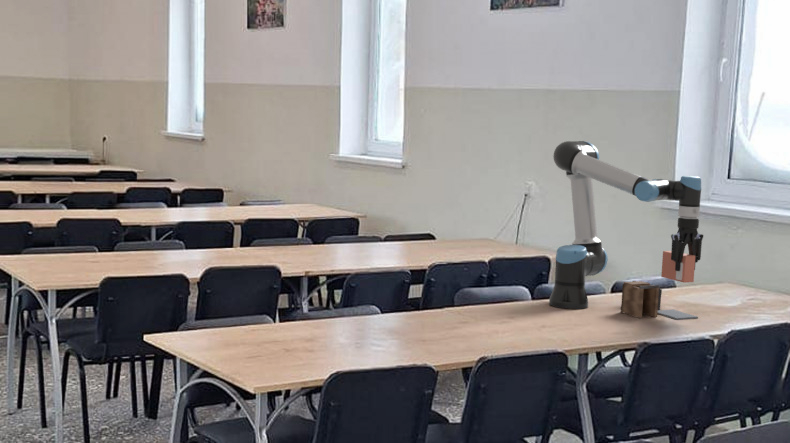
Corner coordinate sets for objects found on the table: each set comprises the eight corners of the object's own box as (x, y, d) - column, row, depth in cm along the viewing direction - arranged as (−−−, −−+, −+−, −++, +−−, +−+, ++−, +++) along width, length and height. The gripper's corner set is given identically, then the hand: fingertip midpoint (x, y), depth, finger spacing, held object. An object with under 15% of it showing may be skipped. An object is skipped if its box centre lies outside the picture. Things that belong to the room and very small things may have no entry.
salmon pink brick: (661, 276, 377) (663, 251, 376) (670, 276, 379) (672, 250, 378) (683, 282, 365) (685, 256, 364) (693, 282, 367) (695, 255, 366)
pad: (652, 312, 378) (652, 310, 378) (673, 311, 382) (673, 309, 382) (676, 319, 366) (676, 318, 366) (697, 318, 370) (697, 316, 370)
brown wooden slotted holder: (620, 312, 376) (622, 281, 375) (638, 311, 380) (640, 280, 379) (639, 317, 367) (641, 286, 365) (657, 316, 370) (659, 285, 369)
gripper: (676, 219, 359) (672, 281, 362) (714, 218, 366) (709, 280, 369) (663, 216, 366) (659, 278, 368) (700, 216, 373) (696, 276, 375)
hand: (684, 279), depth 368 cm, fingers closed on salmon pink brick, 4 cm apart
